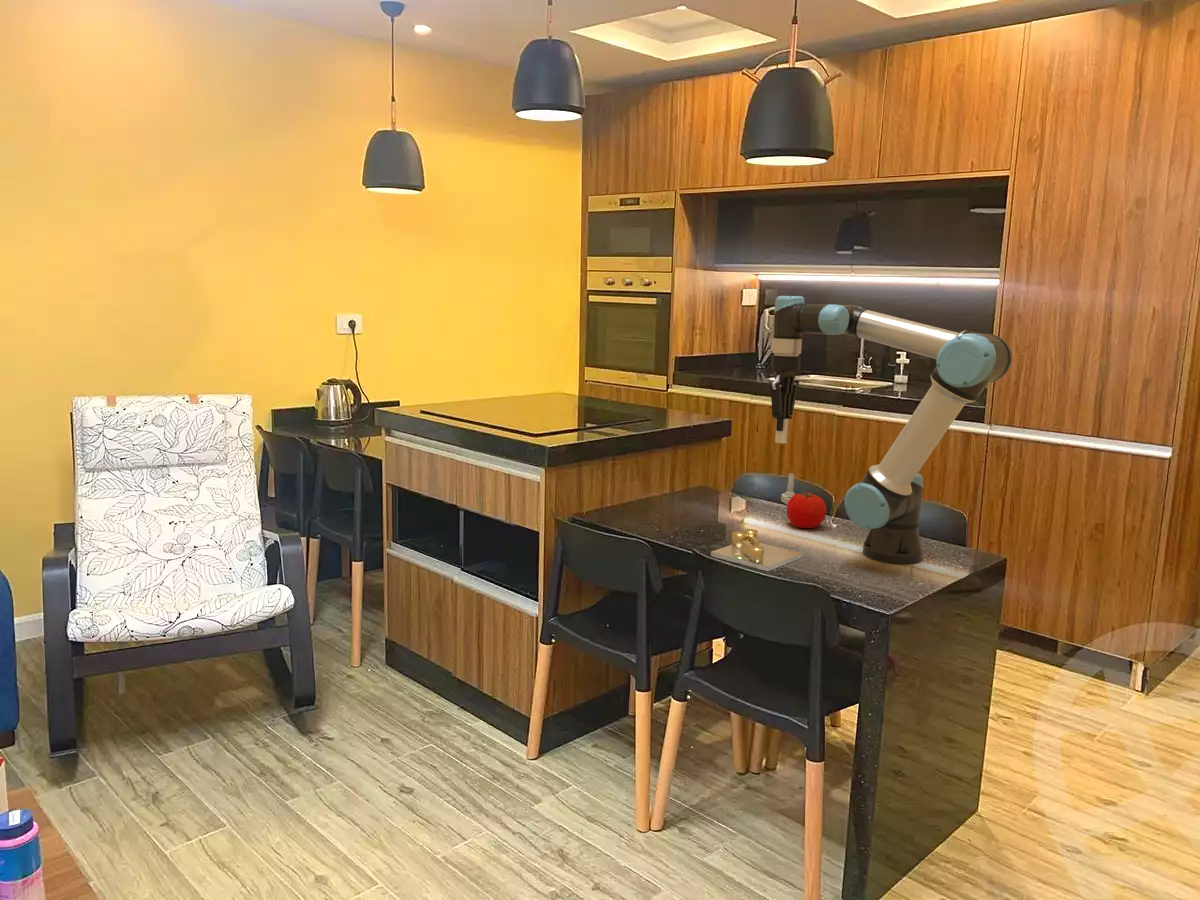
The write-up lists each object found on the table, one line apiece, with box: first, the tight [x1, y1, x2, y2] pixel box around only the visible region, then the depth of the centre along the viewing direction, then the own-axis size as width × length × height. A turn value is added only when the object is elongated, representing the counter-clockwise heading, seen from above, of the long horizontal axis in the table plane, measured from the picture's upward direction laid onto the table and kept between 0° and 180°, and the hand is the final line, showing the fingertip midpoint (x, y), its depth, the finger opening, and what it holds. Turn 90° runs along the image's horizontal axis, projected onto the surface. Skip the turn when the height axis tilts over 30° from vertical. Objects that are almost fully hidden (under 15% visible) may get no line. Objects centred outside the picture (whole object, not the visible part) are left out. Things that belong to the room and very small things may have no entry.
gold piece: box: [741, 541, 764, 563], centre depth 226 cm, size 10×4×3 cm, turn 13°
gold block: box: [743, 528, 760, 546], centre depth 236 cm, size 10×4×3 cm, turn 1°
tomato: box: [786, 490, 827, 529], centre depth 263 cm, size 12×12×10 cm
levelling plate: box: [710, 530, 804, 572], centre depth 231 cm, size 17×17×4 cm
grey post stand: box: [780, 472, 796, 506], centre depth 289 cm, size 5×10×15 cm
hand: (780, 442), depth 240 cm, fingers closed
